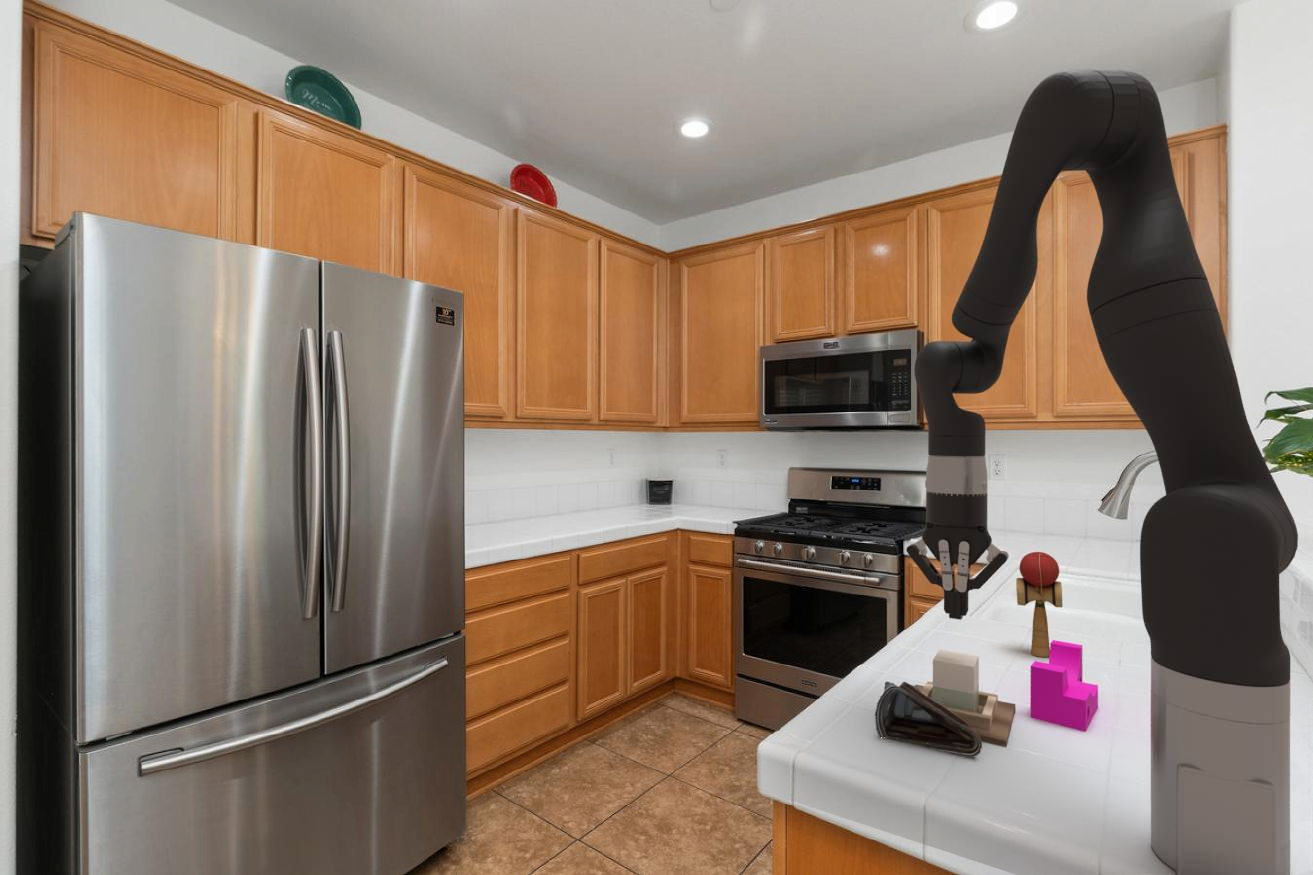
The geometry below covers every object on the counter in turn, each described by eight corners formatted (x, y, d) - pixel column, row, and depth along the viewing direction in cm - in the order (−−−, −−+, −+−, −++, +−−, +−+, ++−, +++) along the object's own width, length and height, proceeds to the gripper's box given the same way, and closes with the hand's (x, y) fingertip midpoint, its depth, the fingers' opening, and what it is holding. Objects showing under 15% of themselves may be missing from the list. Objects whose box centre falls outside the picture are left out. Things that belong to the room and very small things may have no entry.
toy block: (1085, 735, 83) (1085, 677, 83) (1030, 721, 87) (1030, 665, 87) (1102, 700, 94) (1102, 648, 94) (1053, 689, 98) (1053, 639, 98)
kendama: (1007, 653, 114) (1007, 551, 114) (1021, 645, 118) (1021, 547, 118) (1057, 665, 108) (1057, 557, 108) (1069, 656, 112) (1069, 552, 112)
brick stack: (974, 720, 84) (974, 666, 84) (932, 712, 87) (932, 659, 87) (978, 707, 88) (978, 655, 88) (939, 699, 91) (939, 649, 91)
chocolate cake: (992, 725, 81) (916, 649, 85) (989, 746, 74) (907, 662, 79) (936, 771, 83) (865, 694, 88) (929, 794, 77) (854, 710, 82)
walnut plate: (1006, 750, 78) (1006, 728, 78) (894, 724, 86) (894, 704, 86) (1015, 712, 89) (1015, 693, 89) (915, 692, 96) (915, 674, 96)
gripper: (1014, 489, 87) (1014, 618, 87) (910, 485, 94) (910, 604, 94) (1009, 493, 81) (1009, 633, 81) (898, 489, 88) (898, 616, 88)
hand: (955, 617), depth 87 cm, fingers closed
